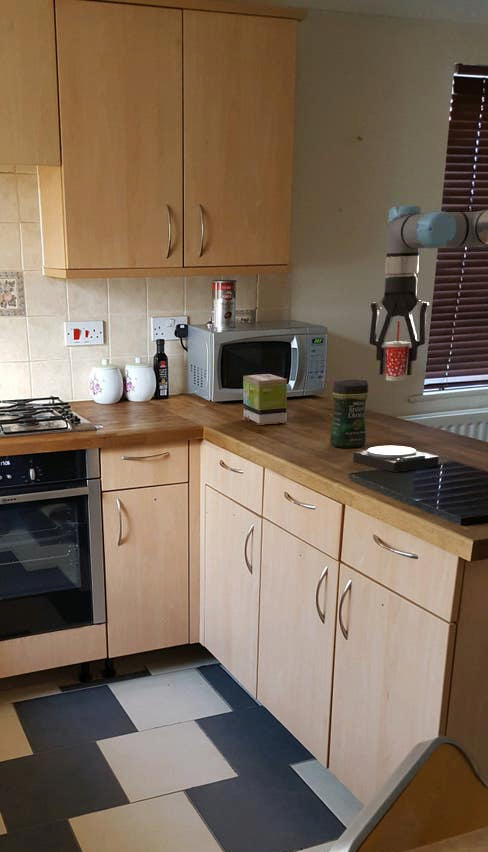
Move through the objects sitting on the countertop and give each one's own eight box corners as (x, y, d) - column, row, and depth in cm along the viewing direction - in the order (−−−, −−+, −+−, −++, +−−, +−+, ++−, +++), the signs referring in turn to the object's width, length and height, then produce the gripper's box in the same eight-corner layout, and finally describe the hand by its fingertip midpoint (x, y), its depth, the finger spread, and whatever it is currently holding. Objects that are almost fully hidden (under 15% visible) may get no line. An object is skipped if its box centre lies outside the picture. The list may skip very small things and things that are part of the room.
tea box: (242, 419, 296) (242, 375, 291) (270, 417, 299) (270, 373, 294) (258, 426, 282) (258, 379, 278) (287, 424, 285) (288, 377, 280)
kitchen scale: (438, 466, 219) (439, 453, 218) (393, 472, 214) (394, 459, 213) (395, 455, 233) (396, 443, 232) (353, 461, 227) (353, 449, 226)
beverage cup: (388, 377, 222) (391, 320, 217) (411, 378, 218) (415, 320, 214) (378, 380, 217) (381, 321, 212) (402, 381, 213) (406, 322, 209)
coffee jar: (339, 449, 243) (341, 381, 237) (326, 444, 250) (328, 378, 244) (370, 446, 245) (373, 379, 239) (356, 442, 252) (359, 376, 246)
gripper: (444, 274, 209) (437, 373, 217) (364, 276, 216) (360, 371, 224) (440, 275, 202) (432, 376, 210) (358, 277, 210) (354, 375, 218)
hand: (395, 374), depth 217 cm, fingers closed on beverage cup, 6 cm apart
